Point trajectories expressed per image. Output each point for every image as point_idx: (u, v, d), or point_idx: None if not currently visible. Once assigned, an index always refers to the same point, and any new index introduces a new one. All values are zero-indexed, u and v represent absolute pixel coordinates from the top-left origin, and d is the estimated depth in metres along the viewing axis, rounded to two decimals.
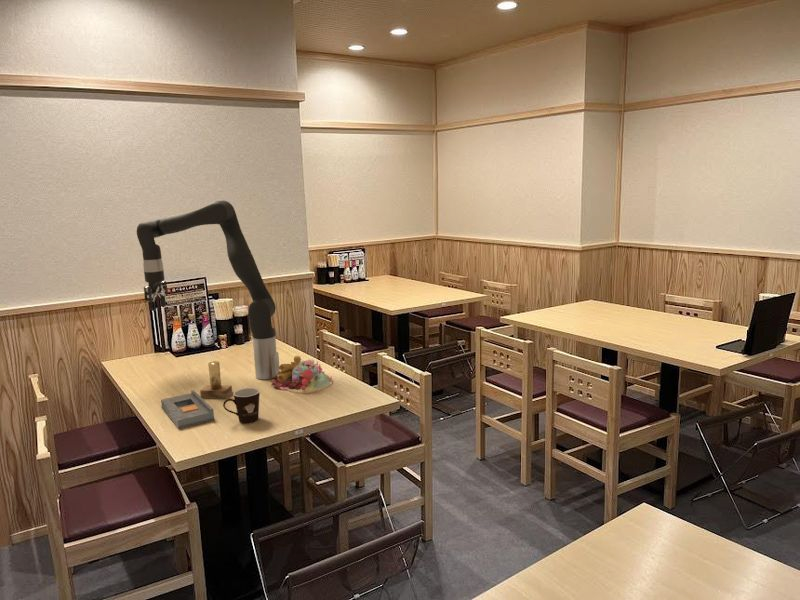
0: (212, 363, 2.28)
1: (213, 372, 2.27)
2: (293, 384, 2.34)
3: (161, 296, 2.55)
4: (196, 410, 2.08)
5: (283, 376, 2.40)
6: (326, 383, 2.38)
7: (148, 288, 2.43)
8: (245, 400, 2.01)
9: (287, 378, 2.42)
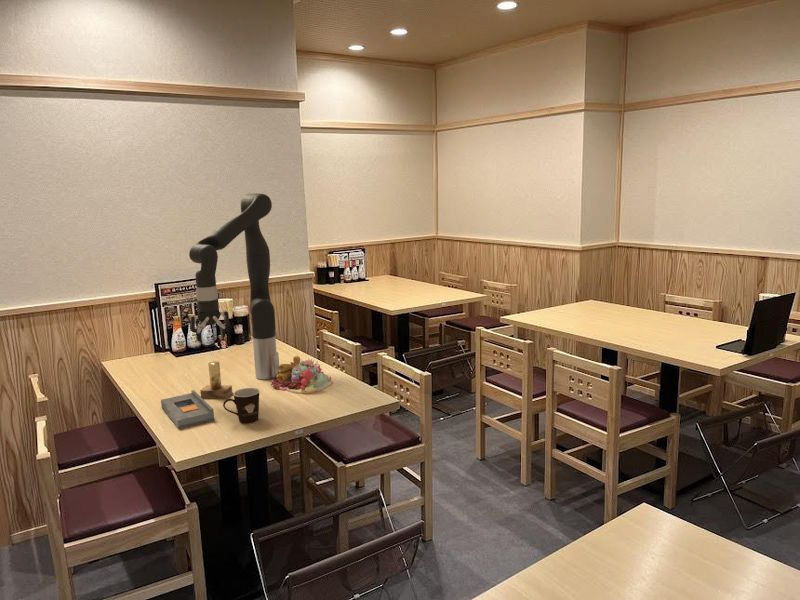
0: (212, 363, 2.28)
1: (213, 372, 2.27)
2: (292, 384, 2.34)
3: None
4: (196, 410, 2.08)
5: (282, 376, 2.40)
6: (325, 383, 2.38)
7: None
8: (245, 400, 2.01)
9: (286, 378, 2.42)
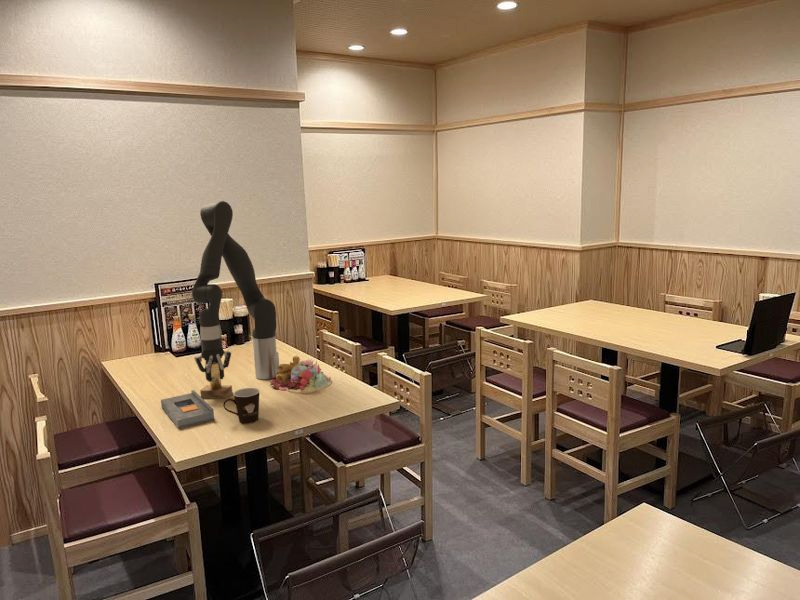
0: (212, 363, 2.28)
1: (213, 372, 2.27)
2: (292, 384, 2.34)
3: None
4: (196, 410, 2.08)
5: (282, 376, 2.40)
6: (325, 383, 2.38)
7: None
8: (245, 400, 2.01)
9: (286, 378, 2.42)
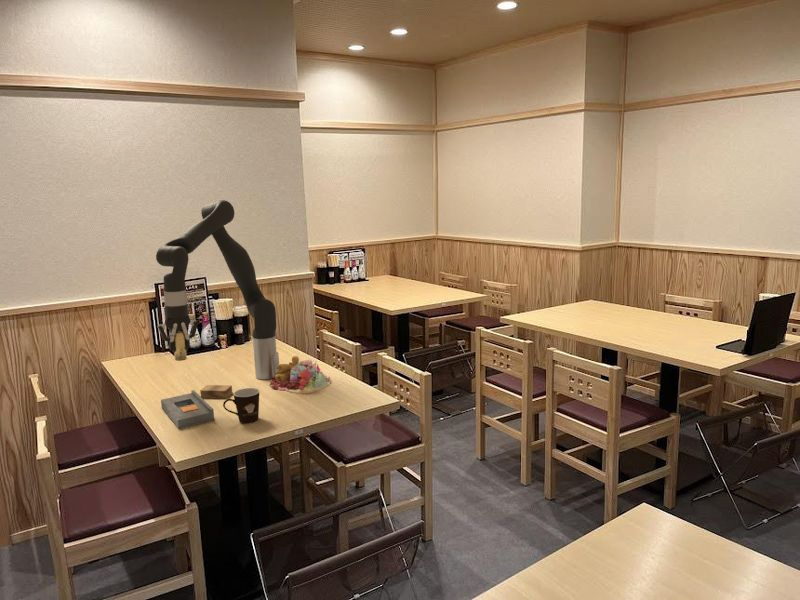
0: (177, 332, 2.12)
1: (177, 342, 2.11)
2: (291, 384, 2.33)
3: None
4: (196, 410, 2.08)
5: (281, 376, 2.40)
6: (324, 383, 2.37)
7: None
8: (245, 400, 2.01)
9: (285, 378, 2.42)
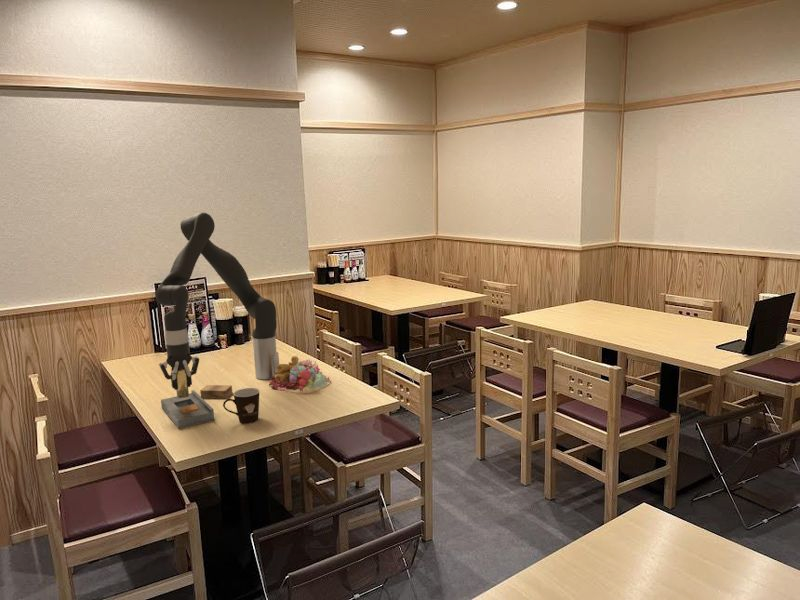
0: None
1: (179, 379, 2.12)
2: (290, 384, 2.33)
3: None
4: (196, 410, 2.08)
5: (280, 376, 2.40)
6: (324, 383, 2.37)
7: None
8: (245, 400, 2.01)
9: (284, 378, 2.42)
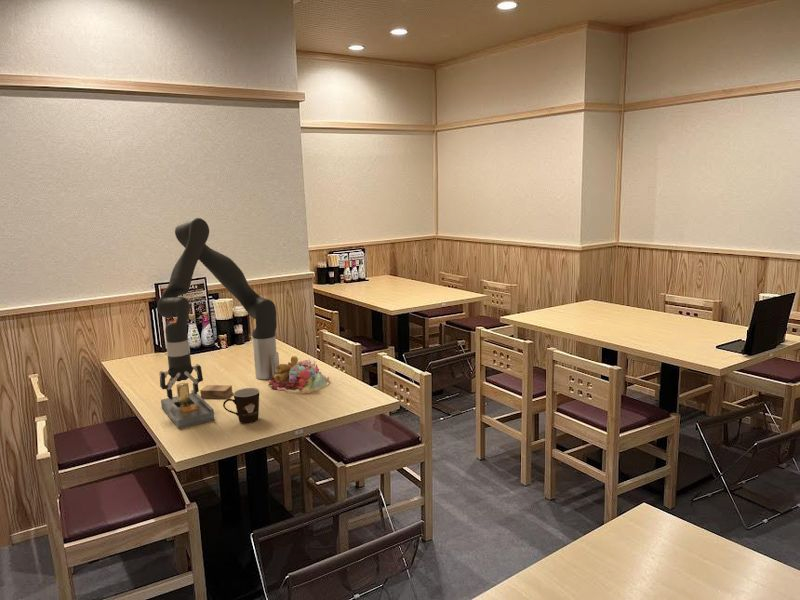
0: (180, 385, 2.14)
1: (181, 395, 2.13)
2: (290, 384, 2.33)
3: None
4: (196, 410, 2.08)
5: (280, 376, 2.40)
6: (323, 383, 2.37)
7: None
8: (245, 400, 2.01)
9: (284, 378, 2.42)
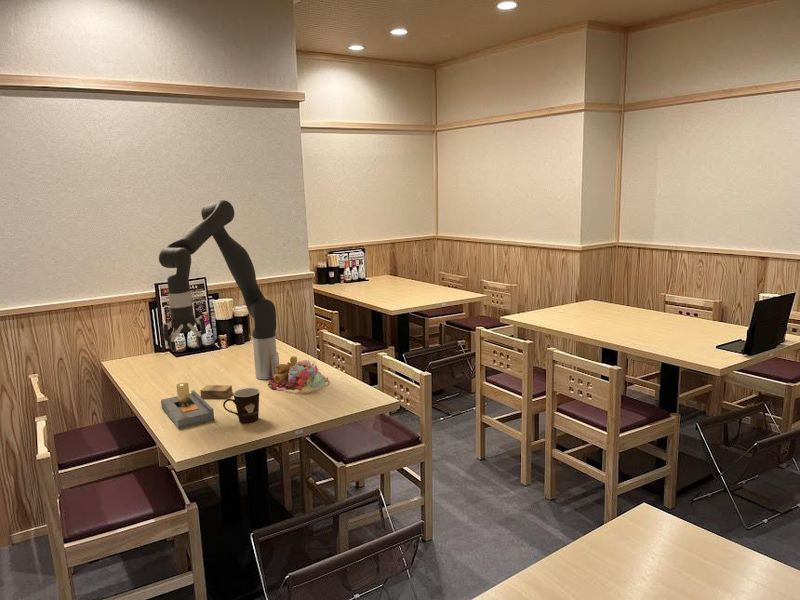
0: (180, 385, 2.14)
1: (181, 395, 2.13)
2: (289, 384, 2.33)
3: None
4: (196, 410, 2.08)
5: (279, 376, 2.40)
6: (322, 383, 2.37)
7: None
8: (245, 400, 2.01)
9: (283, 378, 2.42)
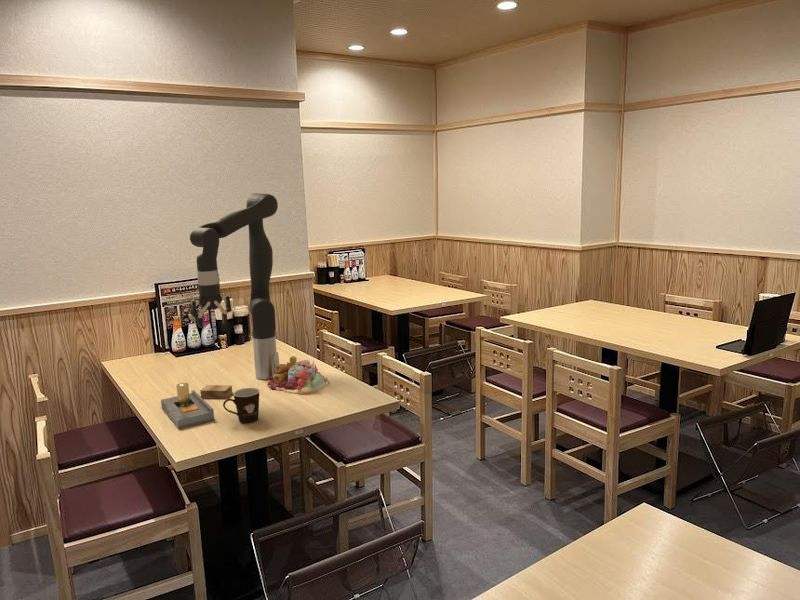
0: (180, 385, 2.14)
1: (181, 395, 2.13)
2: (289, 384, 2.33)
3: None
4: (196, 410, 2.08)
5: (279, 376, 2.40)
6: (322, 383, 2.37)
7: None
8: (245, 400, 2.01)
9: (283, 378, 2.42)
